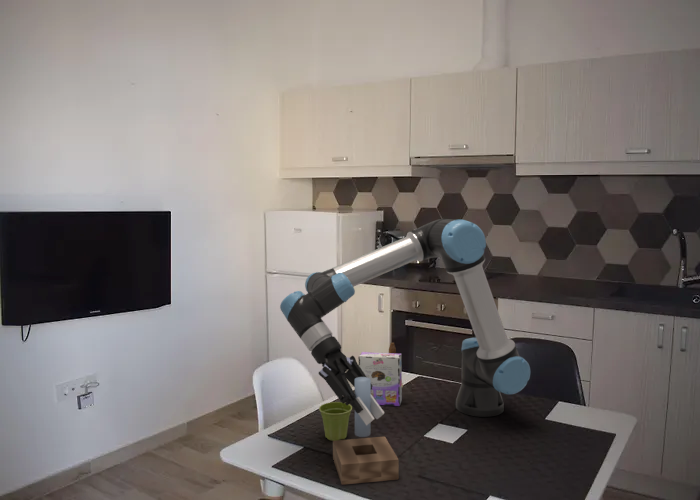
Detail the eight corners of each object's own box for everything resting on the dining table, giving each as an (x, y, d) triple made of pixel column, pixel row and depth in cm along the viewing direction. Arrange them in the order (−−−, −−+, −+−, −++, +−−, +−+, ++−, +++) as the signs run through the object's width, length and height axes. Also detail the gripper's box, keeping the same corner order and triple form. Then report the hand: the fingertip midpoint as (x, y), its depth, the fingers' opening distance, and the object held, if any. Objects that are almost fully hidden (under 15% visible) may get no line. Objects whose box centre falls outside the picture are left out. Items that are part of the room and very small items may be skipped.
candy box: (402, 400, 198) (402, 353, 196) (399, 407, 192) (399, 357, 190) (362, 398, 201) (361, 350, 199) (358, 404, 195) (358, 355, 194)
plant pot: (348, 445, 163) (348, 414, 162) (315, 442, 165) (315, 412, 164) (355, 431, 172) (355, 402, 171) (323, 429, 174) (323, 400, 173)
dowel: (368, 430, 150) (368, 376, 149) (372, 436, 146) (372, 381, 145) (353, 431, 149) (353, 377, 148) (356, 437, 145) (356, 382, 144)
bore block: (384, 454, 157) (384, 436, 156) (398, 479, 143) (398, 459, 143) (333, 459, 154) (332, 440, 154) (341, 484, 140) (341, 464, 140)
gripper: (333, 345, 162) (384, 416, 154) (293, 359, 148) (347, 438, 140) (348, 329, 158) (402, 400, 150) (309, 342, 144) (365, 421, 136)
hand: (375, 418), depth 145 cm, fingers closed on dowel, 4 cm apart
